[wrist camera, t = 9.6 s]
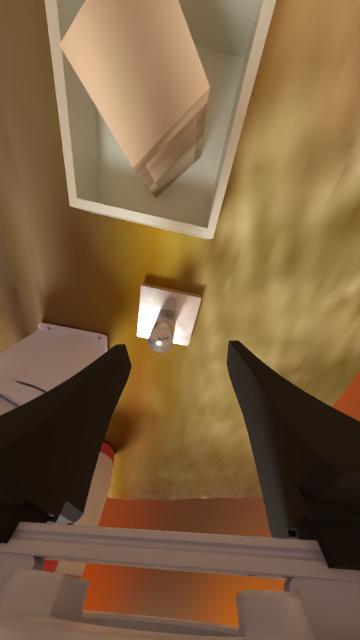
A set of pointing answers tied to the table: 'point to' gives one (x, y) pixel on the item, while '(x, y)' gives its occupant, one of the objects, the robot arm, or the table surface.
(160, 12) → the socket block
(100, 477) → the citrus juicer
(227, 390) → the table surface
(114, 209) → the bin
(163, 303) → the stud plate
